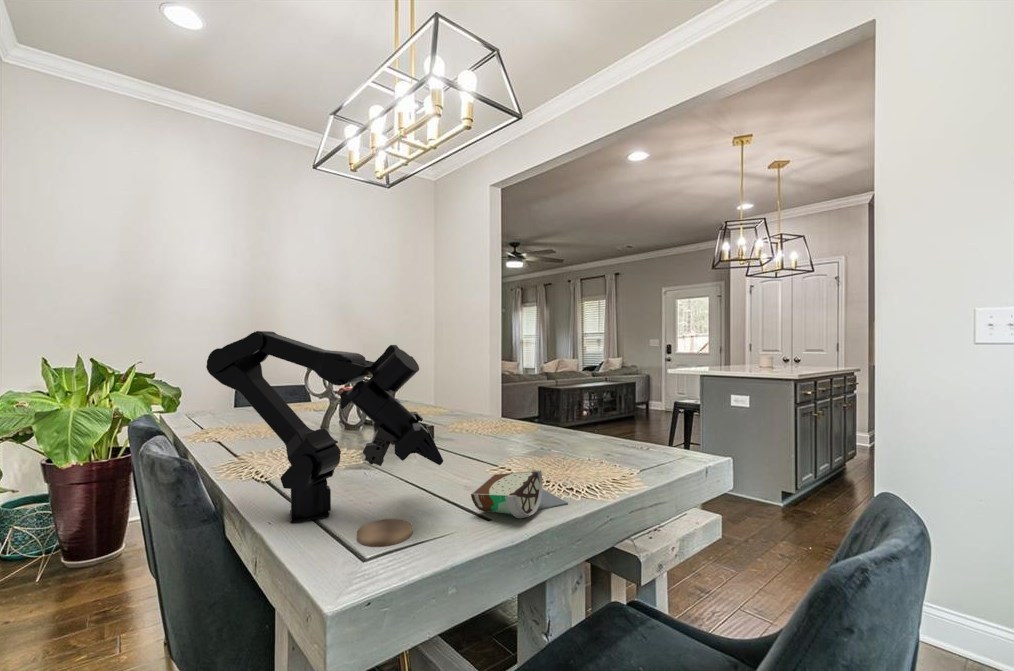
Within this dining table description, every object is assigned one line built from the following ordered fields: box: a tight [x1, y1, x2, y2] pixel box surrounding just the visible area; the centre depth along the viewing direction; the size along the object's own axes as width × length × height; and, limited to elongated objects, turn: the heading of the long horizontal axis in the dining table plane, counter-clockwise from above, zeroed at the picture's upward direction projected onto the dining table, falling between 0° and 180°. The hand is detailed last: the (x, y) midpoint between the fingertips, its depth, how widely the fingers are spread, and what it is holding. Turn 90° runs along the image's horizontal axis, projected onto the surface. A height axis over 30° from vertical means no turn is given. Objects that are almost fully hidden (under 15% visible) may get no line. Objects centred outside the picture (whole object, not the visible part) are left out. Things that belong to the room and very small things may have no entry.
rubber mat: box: [504, 488, 569, 517], centre depth 95 cm, size 13×13×1 cm
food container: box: [470, 469, 544, 519], centre depth 88 cm, size 12×6×10 cm
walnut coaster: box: [356, 518, 413, 547], centre depth 79 cm, size 9×9×1 cm
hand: (441, 463), depth 89 cm, fingers closed
